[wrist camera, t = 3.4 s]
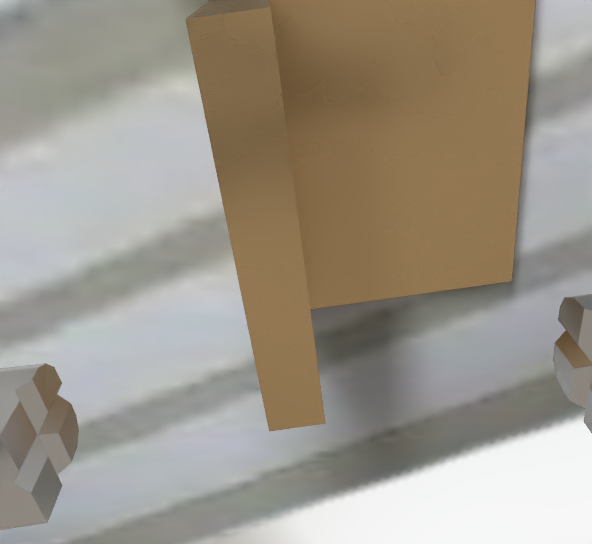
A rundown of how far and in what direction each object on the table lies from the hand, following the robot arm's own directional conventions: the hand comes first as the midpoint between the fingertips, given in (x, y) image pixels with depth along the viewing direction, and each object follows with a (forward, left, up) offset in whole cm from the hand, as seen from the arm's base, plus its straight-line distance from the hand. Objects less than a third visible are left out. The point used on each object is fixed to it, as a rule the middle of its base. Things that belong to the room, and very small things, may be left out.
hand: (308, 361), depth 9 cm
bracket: (+3, 0, -11) cm, 11 cm away
